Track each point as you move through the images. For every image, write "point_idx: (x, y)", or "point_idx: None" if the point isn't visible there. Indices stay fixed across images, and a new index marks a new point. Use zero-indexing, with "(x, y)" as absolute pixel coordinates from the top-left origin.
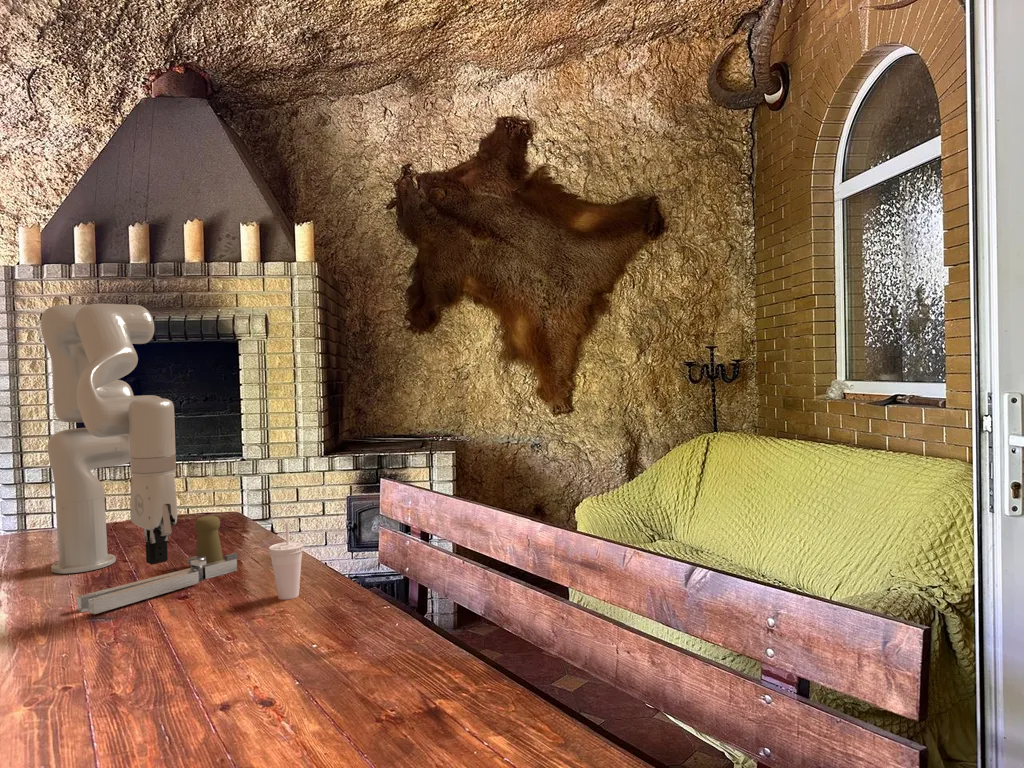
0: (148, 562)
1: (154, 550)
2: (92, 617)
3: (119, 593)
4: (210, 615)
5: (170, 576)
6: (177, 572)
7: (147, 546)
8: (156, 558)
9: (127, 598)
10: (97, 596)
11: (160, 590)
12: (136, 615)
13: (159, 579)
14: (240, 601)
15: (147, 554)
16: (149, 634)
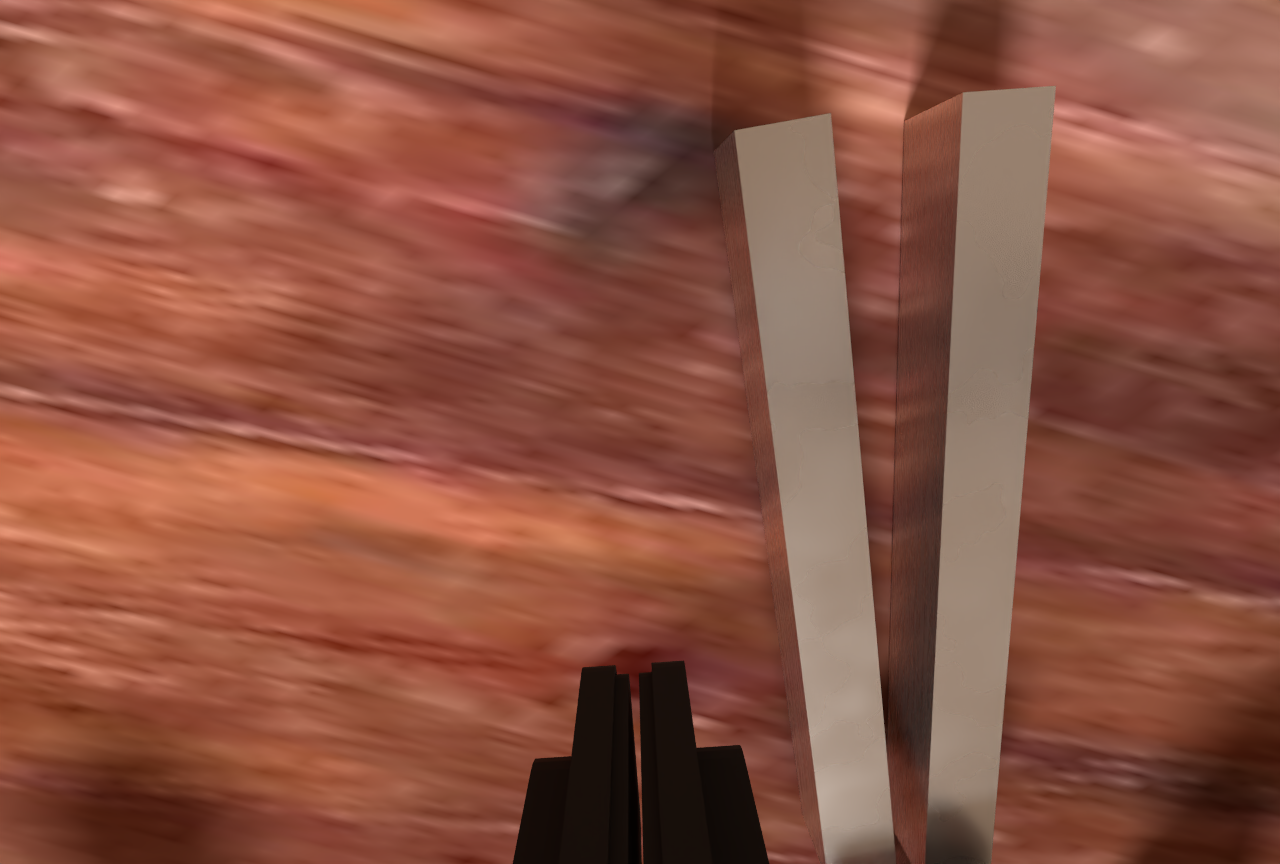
0: (651, 672)
1: (554, 848)
2: (720, 144)
3: (769, 350)
4: (138, 672)
5: (878, 732)
6: (964, 791)
7: (663, 844)
8: (536, 766)
9: (754, 396)
10: (947, 232)
11: (782, 611)
12: (508, 370)
13: (872, 661)
14: (280, 854)
15: (653, 738)
16: (18, 307)
